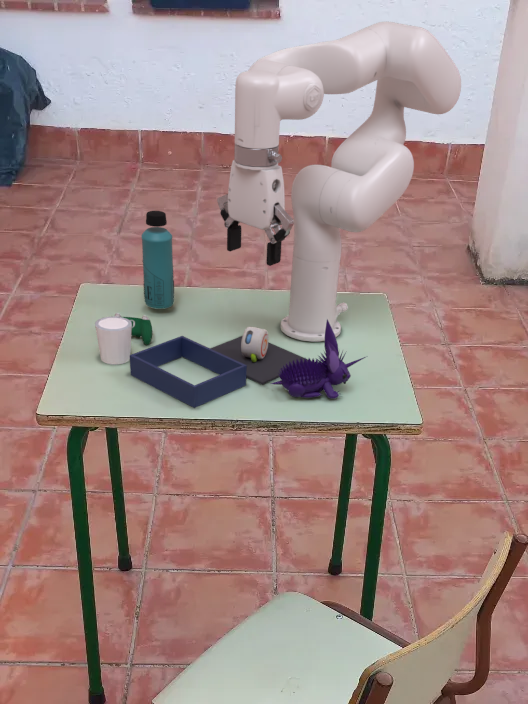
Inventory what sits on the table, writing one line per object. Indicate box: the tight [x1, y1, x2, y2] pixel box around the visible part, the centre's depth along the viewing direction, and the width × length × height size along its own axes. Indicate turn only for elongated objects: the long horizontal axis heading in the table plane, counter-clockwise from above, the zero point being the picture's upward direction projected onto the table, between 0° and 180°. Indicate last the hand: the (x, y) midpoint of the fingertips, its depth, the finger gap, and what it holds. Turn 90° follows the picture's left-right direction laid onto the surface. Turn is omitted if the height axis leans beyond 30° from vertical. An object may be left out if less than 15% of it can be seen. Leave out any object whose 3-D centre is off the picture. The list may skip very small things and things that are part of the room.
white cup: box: [94, 315, 132, 365], centre depth 169 cm, size 7×7×7 cm
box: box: [129, 335, 247, 409], centre depth 165 cm, size 13×17×4 cm
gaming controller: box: [114, 312, 153, 346], centre depth 178 cm, size 9×4×6 cm
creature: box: [270, 319, 368, 400], centre depth 161 cm, size 9×18×12 cm, turn 96°
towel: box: [209, 335, 309, 386], centre depth 174 cm, size 14×17×1 cm
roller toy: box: [241, 326, 270, 362], centre depth 172 cm, size 4×6×6 cm
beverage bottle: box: [141, 210, 176, 310], centre depth 184 cm, size 6×7×20 cm
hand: (253, 256), depth 164 cm, fingers open, 9 cm apart
